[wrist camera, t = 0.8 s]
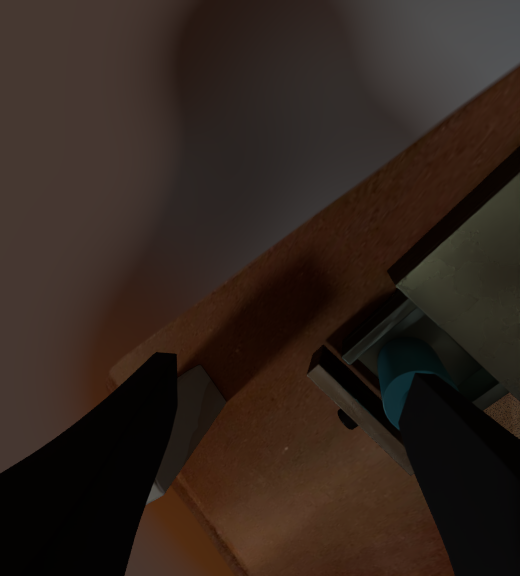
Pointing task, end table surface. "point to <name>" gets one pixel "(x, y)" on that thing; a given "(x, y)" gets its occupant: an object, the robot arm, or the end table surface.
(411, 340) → the bottle
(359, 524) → the end table surface
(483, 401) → the drawer
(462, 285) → the cabinet
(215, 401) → the box
